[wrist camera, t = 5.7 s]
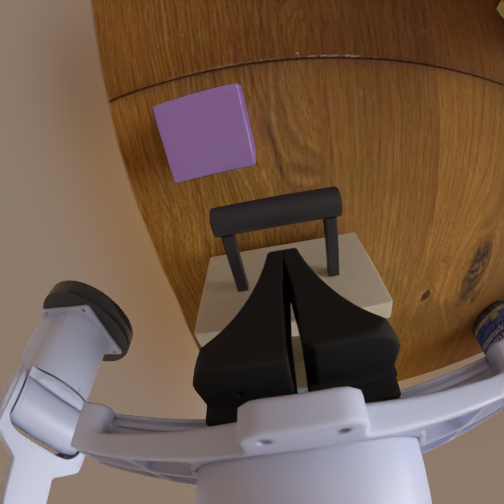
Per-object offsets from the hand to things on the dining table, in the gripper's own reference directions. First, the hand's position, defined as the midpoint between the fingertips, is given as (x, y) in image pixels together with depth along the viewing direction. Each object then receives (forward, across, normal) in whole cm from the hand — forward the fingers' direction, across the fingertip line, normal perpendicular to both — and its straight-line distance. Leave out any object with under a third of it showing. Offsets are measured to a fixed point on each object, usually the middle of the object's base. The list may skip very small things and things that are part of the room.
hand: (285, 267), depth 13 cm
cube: (+6, +2, -6) cm, 9 cm away
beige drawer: (+5, 0, +6) cm, 8 cm away
